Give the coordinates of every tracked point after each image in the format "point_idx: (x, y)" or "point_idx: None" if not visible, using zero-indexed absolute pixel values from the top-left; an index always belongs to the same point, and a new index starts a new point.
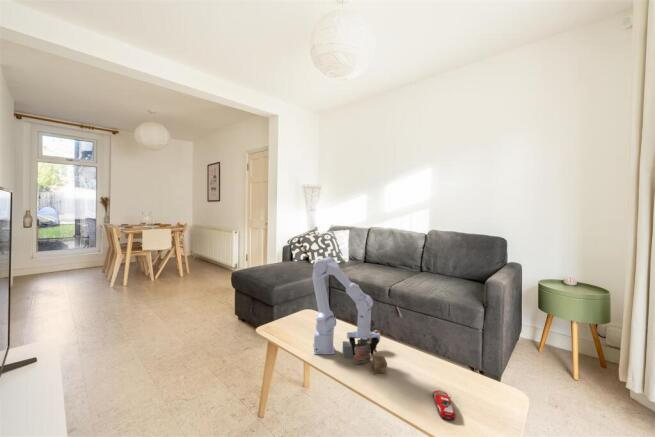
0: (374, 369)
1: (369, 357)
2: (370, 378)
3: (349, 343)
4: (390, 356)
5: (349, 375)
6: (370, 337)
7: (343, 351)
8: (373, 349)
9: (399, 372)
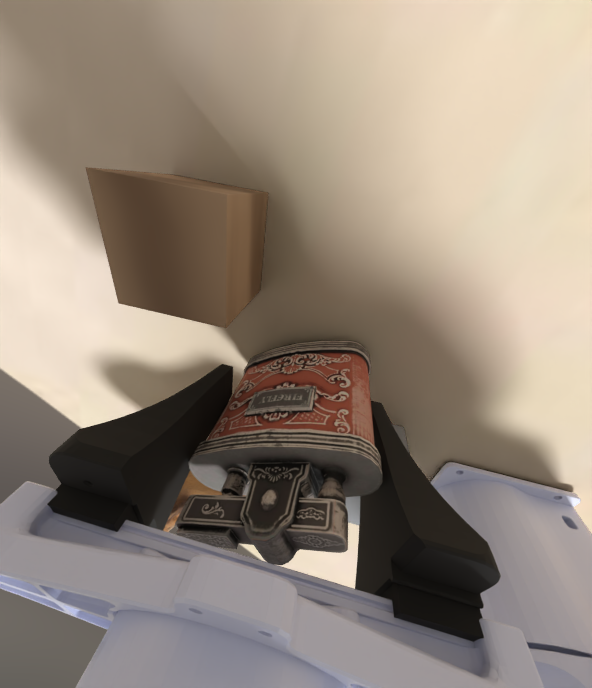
0: (256, 207)
1: (250, 368)
2: (325, 128)
3: (353, 506)
4: (127, 365)
5: (500, 217)
6: (122, 563)
7: None
8: (190, 391)
9: (73, 184)
